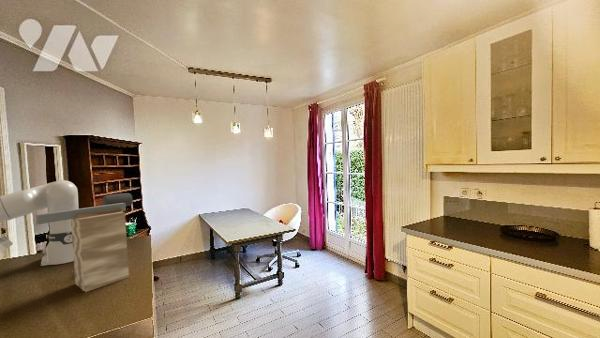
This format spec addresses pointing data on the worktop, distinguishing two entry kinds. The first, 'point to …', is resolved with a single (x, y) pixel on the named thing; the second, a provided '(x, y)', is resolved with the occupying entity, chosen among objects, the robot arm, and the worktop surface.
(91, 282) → the tan streaked block
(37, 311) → the worktop surface
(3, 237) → the robot arm
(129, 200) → the rubber mallet
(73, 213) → the grey bar
